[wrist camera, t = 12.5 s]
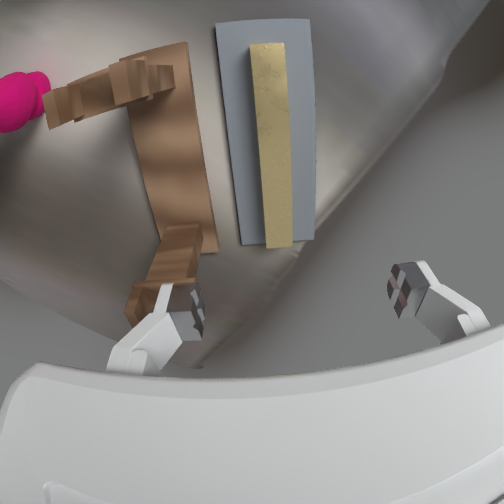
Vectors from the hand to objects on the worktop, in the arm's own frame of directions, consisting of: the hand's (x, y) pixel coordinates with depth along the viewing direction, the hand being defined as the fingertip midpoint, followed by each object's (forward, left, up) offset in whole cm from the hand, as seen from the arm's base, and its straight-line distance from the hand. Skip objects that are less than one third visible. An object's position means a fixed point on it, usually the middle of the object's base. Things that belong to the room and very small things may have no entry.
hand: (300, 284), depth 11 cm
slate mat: (-1, +1, -21) cm, 21 cm away
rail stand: (0, -10, -21) cm, 24 cm away
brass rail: (0, +1, -20) cm, 20 cm away
